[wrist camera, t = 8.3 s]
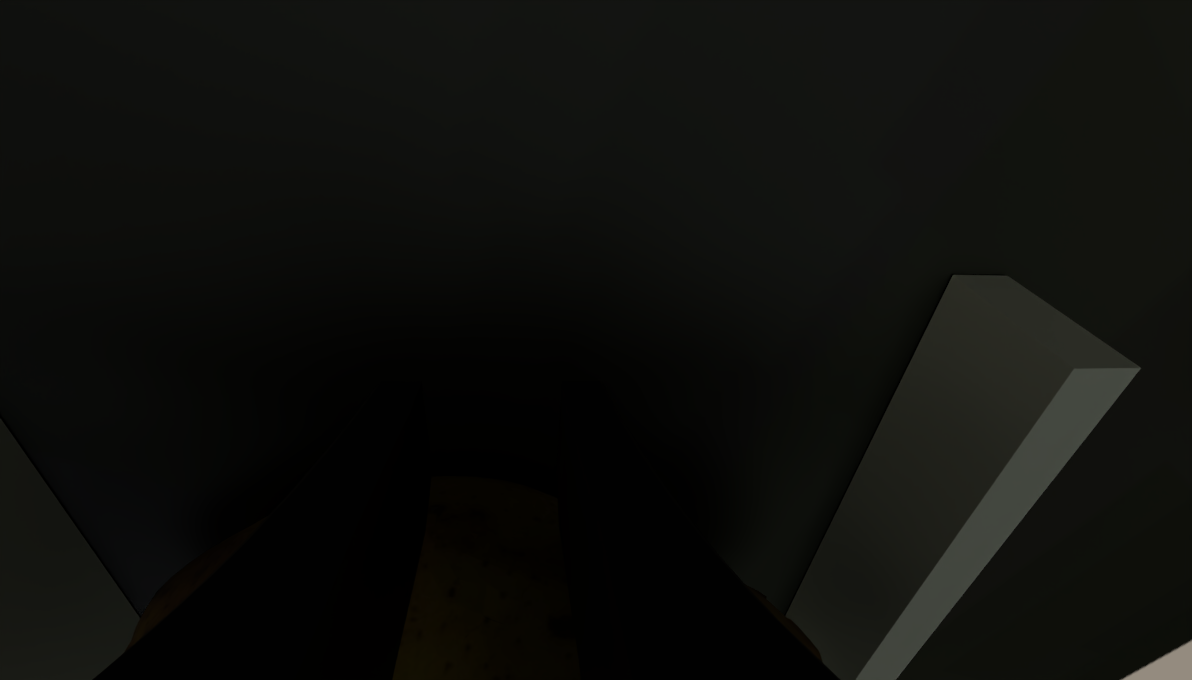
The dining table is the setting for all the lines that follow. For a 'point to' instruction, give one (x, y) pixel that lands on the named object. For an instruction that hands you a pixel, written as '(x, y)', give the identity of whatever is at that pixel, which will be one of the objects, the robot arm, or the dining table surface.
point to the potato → (468, 588)
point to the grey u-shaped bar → (847, 552)
